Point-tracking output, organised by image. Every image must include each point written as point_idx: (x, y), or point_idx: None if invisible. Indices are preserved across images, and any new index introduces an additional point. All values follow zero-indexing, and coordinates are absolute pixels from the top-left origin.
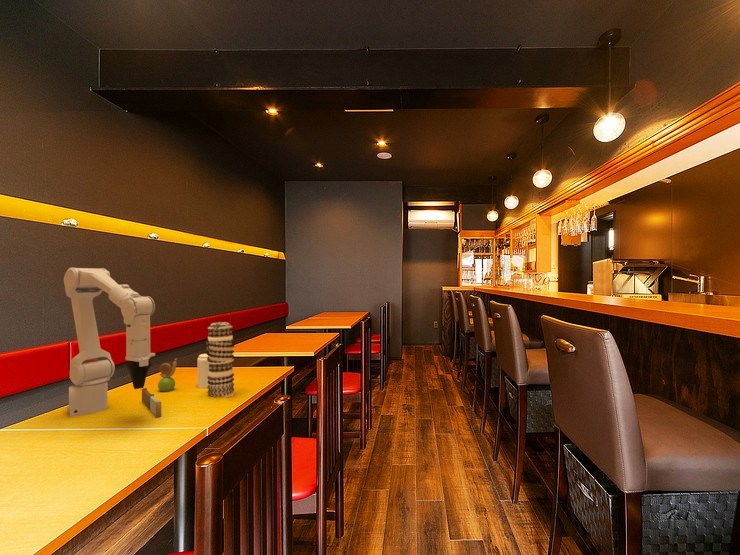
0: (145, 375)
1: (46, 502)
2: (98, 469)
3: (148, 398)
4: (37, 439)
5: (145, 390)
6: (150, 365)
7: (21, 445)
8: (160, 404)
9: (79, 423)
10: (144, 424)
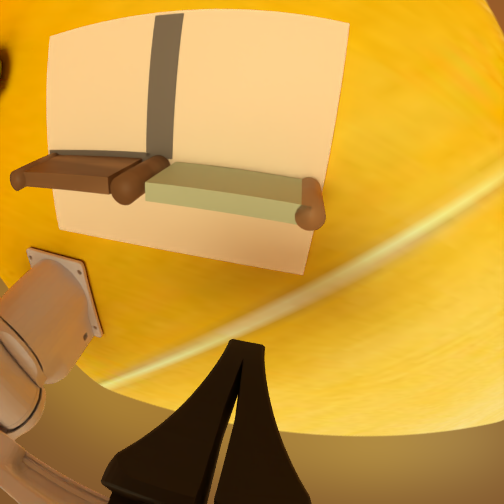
0: (274, 421)
1: (477, 411)
2: (472, 376)
3: (137, 198)
4: None
5: (28, 177)
6: (310, 501)
7: None
8: (322, 206)
9: (141, 335)
10: (323, 245)
